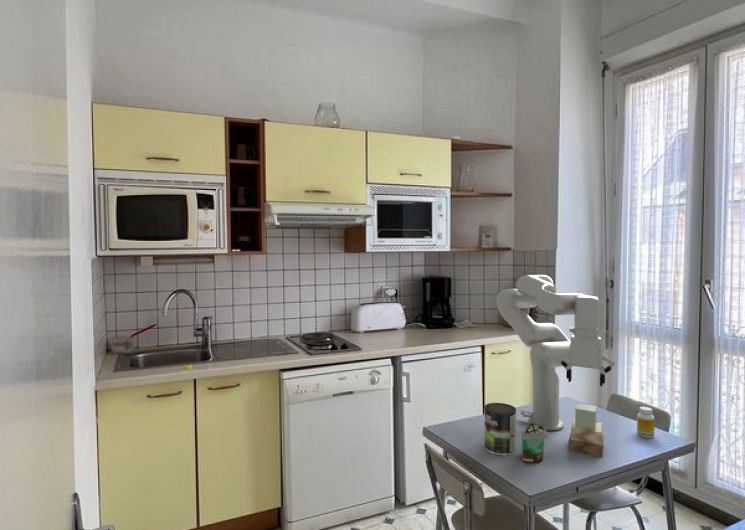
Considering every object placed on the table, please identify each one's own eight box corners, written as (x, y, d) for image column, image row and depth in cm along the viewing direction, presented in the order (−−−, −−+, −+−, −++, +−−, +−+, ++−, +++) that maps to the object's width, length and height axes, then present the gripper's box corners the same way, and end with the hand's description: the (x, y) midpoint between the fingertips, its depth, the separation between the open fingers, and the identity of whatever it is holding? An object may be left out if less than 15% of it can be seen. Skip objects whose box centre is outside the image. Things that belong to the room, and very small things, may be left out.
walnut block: (568, 451, 152) (568, 439, 152) (571, 440, 160) (571, 429, 160) (602, 457, 147) (602, 445, 147) (603, 446, 156) (603, 434, 155)
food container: (542, 469, 138) (542, 437, 138) (521, 464, 142) (521, 432, 141) (550, 454, 149) (550, 424, 149) (530, 450, 152) (531, 420, 152)
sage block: (575, 426, 152) (575, 408, 152) (577, 420, 158) (577, 403, 157) (595, 429, 149) (595, 411, 149) (596, 423, 155) (596, 406, 154)
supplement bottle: (656, 438, 161) (657, 411, 161) (640, 437, 162) (640, 410, 162) (650, 432, 166) (651, 406, 166) (634, 431, 167) (634, 405, 167)
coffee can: (497, 458, 146) (497, 414, 146) (477, 445, 156) (478, 404, 155) (522, 452, 150) (522, 410, 150) (502, 440, 160) (502, 400, 159)
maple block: (571, 439, 152) (571, 427, 151) (573, 430, 159) (573, 418, 159) (601, 444, 147) (601, 432, 147) (602, 434, 155) (602, 423, 155)
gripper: (557, 332, 154) (556, 382, 154) (615, 337, 145) (614, 390, 146) (560, 328, 160) (559, 376, 161) (615, 333, 152) (614, 384, 153)
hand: (585, 383), depth 154 cm, fingers open, 9 cm apart
